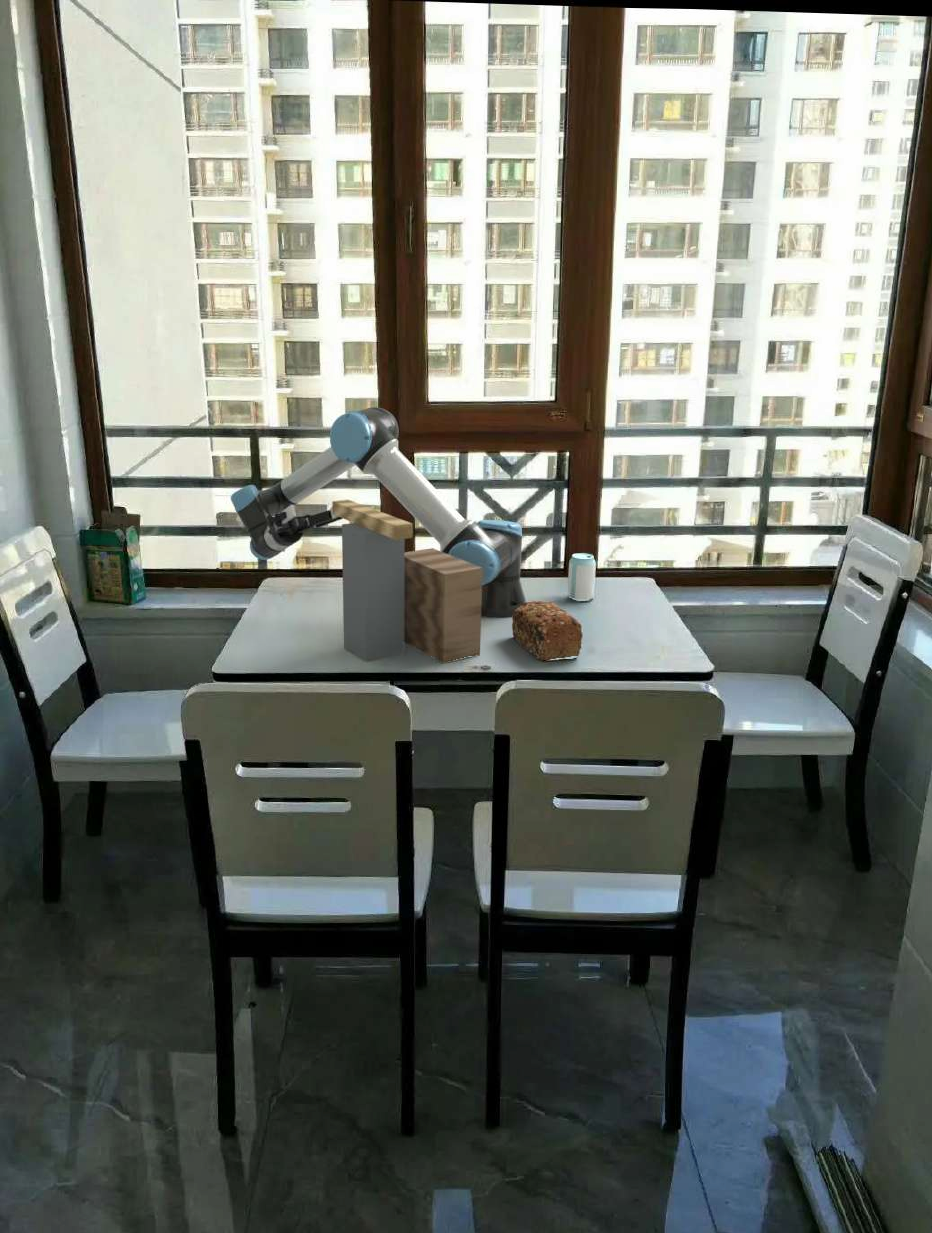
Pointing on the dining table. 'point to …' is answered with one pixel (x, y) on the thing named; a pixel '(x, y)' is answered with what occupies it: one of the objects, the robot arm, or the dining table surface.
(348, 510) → the oak bar
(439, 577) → the wood grain brick
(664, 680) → the dining table surface
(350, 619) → the stand
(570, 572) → the can
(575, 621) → the bread
